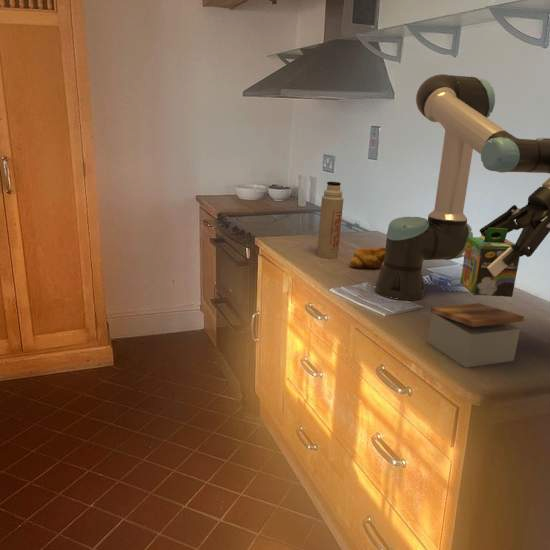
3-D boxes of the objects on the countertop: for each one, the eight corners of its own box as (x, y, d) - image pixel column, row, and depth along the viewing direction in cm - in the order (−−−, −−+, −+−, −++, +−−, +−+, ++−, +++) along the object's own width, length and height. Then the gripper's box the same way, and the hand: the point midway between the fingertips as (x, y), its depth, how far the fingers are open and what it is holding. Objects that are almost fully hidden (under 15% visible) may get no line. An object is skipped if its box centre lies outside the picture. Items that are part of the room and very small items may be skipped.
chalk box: (496, 284, 131) (507, 223, 127) (513, 297, 122) (526, 232, 118) (458, 283, 131) (468, 221, 126) (473, 295, 122) (484, 230, 118)
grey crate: (427, 342, 136) (432, 312, 134) (472, 337, 141) (478, 307, 139) (465, 367, 124) (471, 334, 121) (513, 360, 129) (520, 329, 126)
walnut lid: (430, 311, 134) (430, 306, 134) (477, 307, 139) (477, 302, 139) (473, 326, 120) (473, 321, 120) (523, 321, 126) (523, 316, 125)
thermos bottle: (341, 258, 208) (349, 183, 200) (323, 259, 205) (330, 183, 197) (331, 252, 215) (338, 180, 207) (313, 253, 212) (319, 180, 204)
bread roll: (354, 271, 193) (356, 249, 190) (343, 263, 202) (346, 242, 199) (387, 270, 196) (390, 248, 194) (376, 262, 205) (378, 242, 203)
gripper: (598, 219, 113) (516, 292, 115) (529, 200, 134) (460, 262, 136) (582, 193, 111) (498, 268, 112) (514, 178, 132) (444, 241, 133)
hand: (477, 265), depth 124 cm, fingers closed on chalk box, 10 cm apart
